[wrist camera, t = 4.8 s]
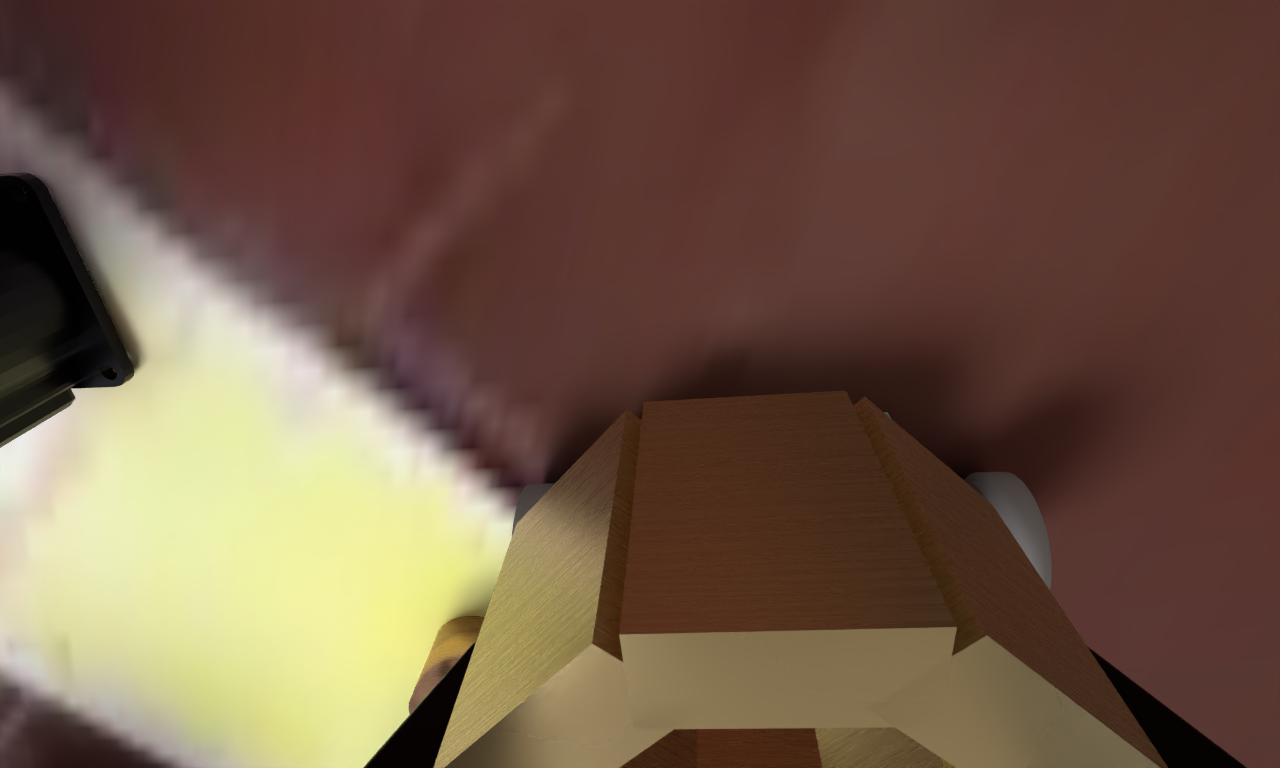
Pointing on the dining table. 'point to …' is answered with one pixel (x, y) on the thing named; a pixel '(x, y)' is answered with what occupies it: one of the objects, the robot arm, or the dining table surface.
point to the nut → (777, 610)
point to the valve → (993, 486)
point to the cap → (445, 654)
